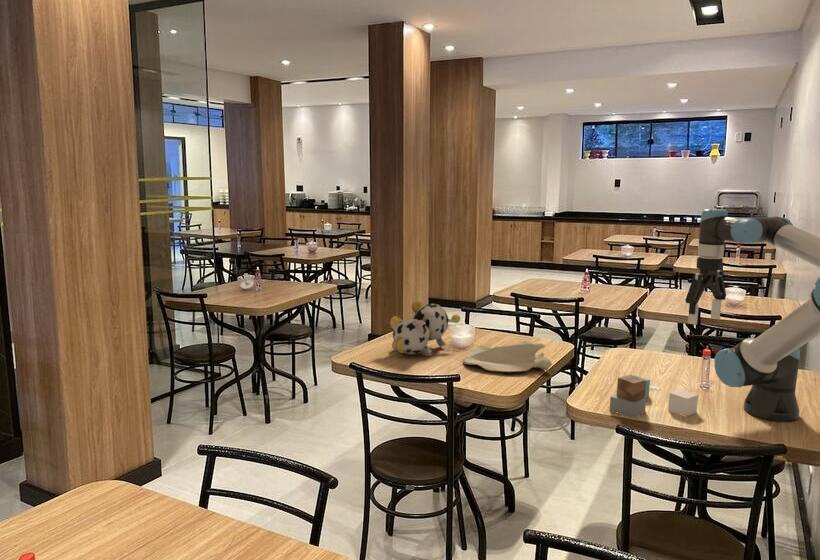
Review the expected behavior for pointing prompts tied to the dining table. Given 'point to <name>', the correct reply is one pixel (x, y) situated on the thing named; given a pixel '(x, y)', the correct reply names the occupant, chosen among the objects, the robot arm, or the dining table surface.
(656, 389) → the phone stand
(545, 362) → the beige wavy platter
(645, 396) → the teal cube
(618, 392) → the walnut cube
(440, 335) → the toy
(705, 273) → the robot arm
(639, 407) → the platform block
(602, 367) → the dining table surface
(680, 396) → the white cube
